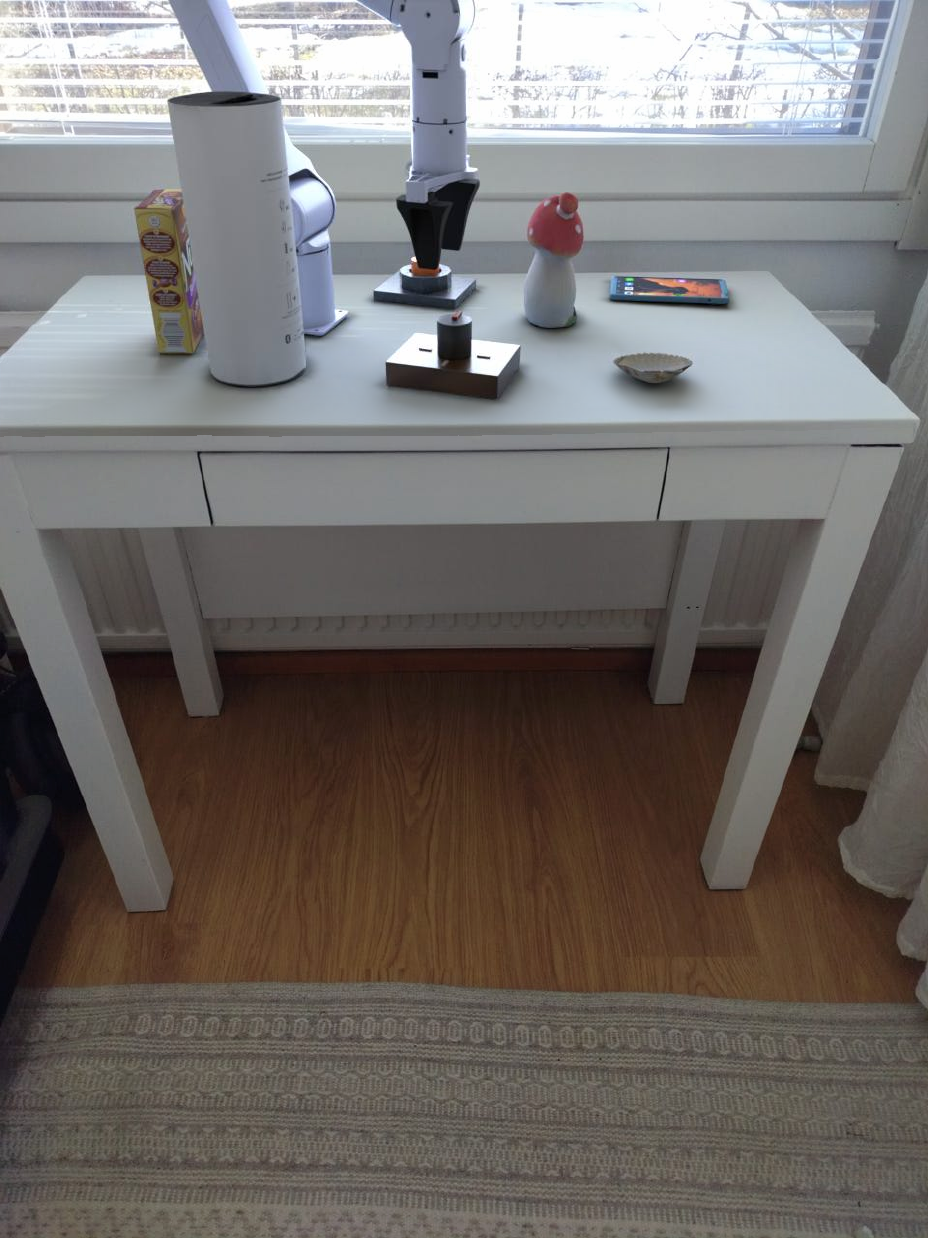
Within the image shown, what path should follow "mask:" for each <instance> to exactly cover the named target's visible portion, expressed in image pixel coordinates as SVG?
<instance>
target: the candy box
mask: <svg viewBox="0 0 928 1238" xmlns="http://www.w3.org/2000/svg"><path fill="white" fill-rule="evenodd" d="M133 211H134V216H135V221H136V228H137V234H138V239H139V245H140V251H141V257H142V262H143V269H144V274H145V275H144V276H145V280H146V281H145V282H146V286H147V294H148V300H149V305H150V310H151V314H152V315H151V316H152V322H153V327H154V333H155V340H156V344H157V352H158V353H159V354H181V355H183V354H189V355H191V354H194V353H195V351H196V349H197V347H198V346H199V343H200V341H201V340H202V338H203V336H204V329H203V323H202V317H201V310H200V304H199V298H198V291H197V285H196V279H195V272H194V266H193V259H192V253H191V247H190V240H189V234H188V228H187V221H186V215H185V209H184V202H183V196H182V190H181V188H168V189H167V188H165V189H154V190H152V191H151V192H150V194H149V195H148V196H147V197H145V198H144V199H143V200H142V201H141V202H140V203H139V204H138V205H137V206H135V207H134V208H133Z"/></svg>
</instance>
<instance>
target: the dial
mask: <svg viewBox="0 0 928 1238" xmlns="http://www.w3.org/2000/svg"><path fill="white" fill-rule="evenodd" d="M436 335H437V353H438V355H439V356H441V357H443V358H448V359H461V358H466V357H468V356H470V355H471V353H472V340H473V319H472V317H470V316H469V315H466V314H463V311H460V310H456V312H455V313H447V314H443V315H440V316H438V317H437V318H436Z"/></svg>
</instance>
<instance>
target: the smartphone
mask: <svg viewBox="0 0 928 1238" xmlns="http://www.w3.org/2000/svg"><path fill="white" fill-rule="evenodd" d="M609 288H610V289H609V295H608V297H609V300H611V301H612V300H613V301H628V302H629V301H630V302H631V301H632V302H659V303H660V302H663V303H688V304H689V303H690V304H691V303H693V304H708V305H712V306H716V305H717V306H718V305H720V304H723V305H724V304H725V305H726V304H728V303H730V296H729V290H728V286H727V281H726V280H725V279H722V278H721V279H720V278H690V277H689V278H687V277H656V276H655V277H654V276H627V275H626V276H625V275H624V276H623V275H615V276H614V275H613V276H612V277H611V278H610V287H609Z"/></svg>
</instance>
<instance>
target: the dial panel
mask: <svg viewBox="0 0 928 1238" xmlns="http://www.w3.org/2000/svg"><path fill="white" fill-rule="evenodd" d="M384 362H385V380H386V381H385V382H386V383H385V384H386V385H387V386H392V387H400V388H407V389H415V390H422V391H429V392H437V393H444V394H450V395H451V394H452V395H460V396H468V397H473V398H474V397H476V398H481V399H488V400H489V399H490V400H496V401H497V400H498V399H499V398H500V396H501V395H502V393H503V392H504V391H505V389H506V388H507V386H508V385H509V383H510V382H511V381H512V379H513V377H514V376H515V375H516V374H517V372H518V370H519V369H520V365H521V345H520V344H513V343H505V342H498V341H497V342H496V341H488V340H478V339H472V353H471V355H470V356H468V357H466V358H461V359H448V358H443V357H441V356H439V355H438V353H437V334H428V333H419V332H414V333H413V334H412V335H411V337H409V338H408V339H407V340H406V341H405V342H404V343H403V344H402V345H401V346H400V347H399V348H398V349H397V350H395V352H394V353H393V354H392V355H391V356H390V357H389V358H388V359H387V360H386V361H384Z"/></svg>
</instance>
